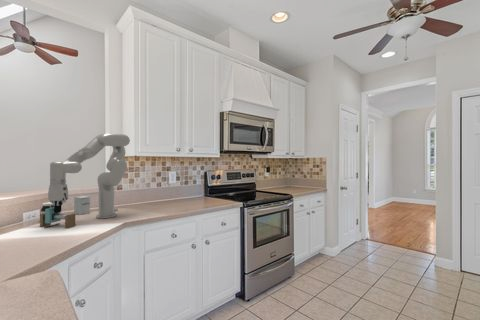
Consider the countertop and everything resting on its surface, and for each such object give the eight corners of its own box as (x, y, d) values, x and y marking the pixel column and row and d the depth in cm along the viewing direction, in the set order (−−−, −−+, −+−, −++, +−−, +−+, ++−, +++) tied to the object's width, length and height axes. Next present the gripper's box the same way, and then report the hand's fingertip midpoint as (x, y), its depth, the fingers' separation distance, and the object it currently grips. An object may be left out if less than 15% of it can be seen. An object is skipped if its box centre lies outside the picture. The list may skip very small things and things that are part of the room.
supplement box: (81, 214, 171) (81, 197, 171) (73, 214, 174) (73, 197, 174) (90, 212, 178) (90, 196, 178) (83, 212, 181) (83, 195, 181)
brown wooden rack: (36, 227, 140) (36, 214, 140) (51, 223, 148) (51, 211, 148) (64, 229, 136) (64, 216, 136) (78, 225, 145) (78, 212, 145)
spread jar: (45, 219, 160) (45, 201, 160) (65, 217, 164) (65, 201, 164) (37, 223, 148) (37, 205, 148) (58, 221, 152) (58, 204, 152)
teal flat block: (45, 223, 140) (45, 209, 140) (56, 220, 147) (56, 206, 147) (49, 223, 139) (49, 209, 139) (60, 220, 146) (60, 206, 146)
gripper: (73, 181, 145) (73, 211, 145) (53, 181, 147) (53, 210, 147) (62, 182, 137) (62, 214, 137) (41, 182, 140) (41, 213, 140)
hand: (57, 212), depth 142 cm, fingers closed
